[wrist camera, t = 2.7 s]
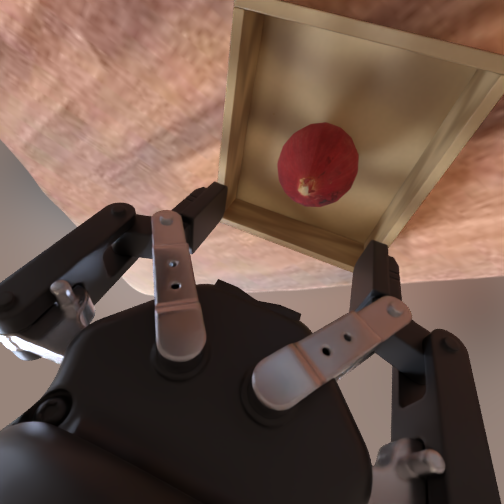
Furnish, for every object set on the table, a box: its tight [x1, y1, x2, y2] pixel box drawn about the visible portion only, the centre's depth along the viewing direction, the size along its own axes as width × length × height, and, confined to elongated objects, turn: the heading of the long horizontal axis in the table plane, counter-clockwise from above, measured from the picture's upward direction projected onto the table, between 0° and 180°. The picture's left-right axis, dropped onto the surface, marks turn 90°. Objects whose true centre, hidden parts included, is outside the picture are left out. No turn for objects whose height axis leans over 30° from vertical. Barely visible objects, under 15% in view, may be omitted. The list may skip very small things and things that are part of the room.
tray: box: [217, 0, 504, 273], centre depth 21 cm, size 16×15×4 cm
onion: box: [277, 122, 359, 207], centre depth 19 cm, size 6×6×8 cm
